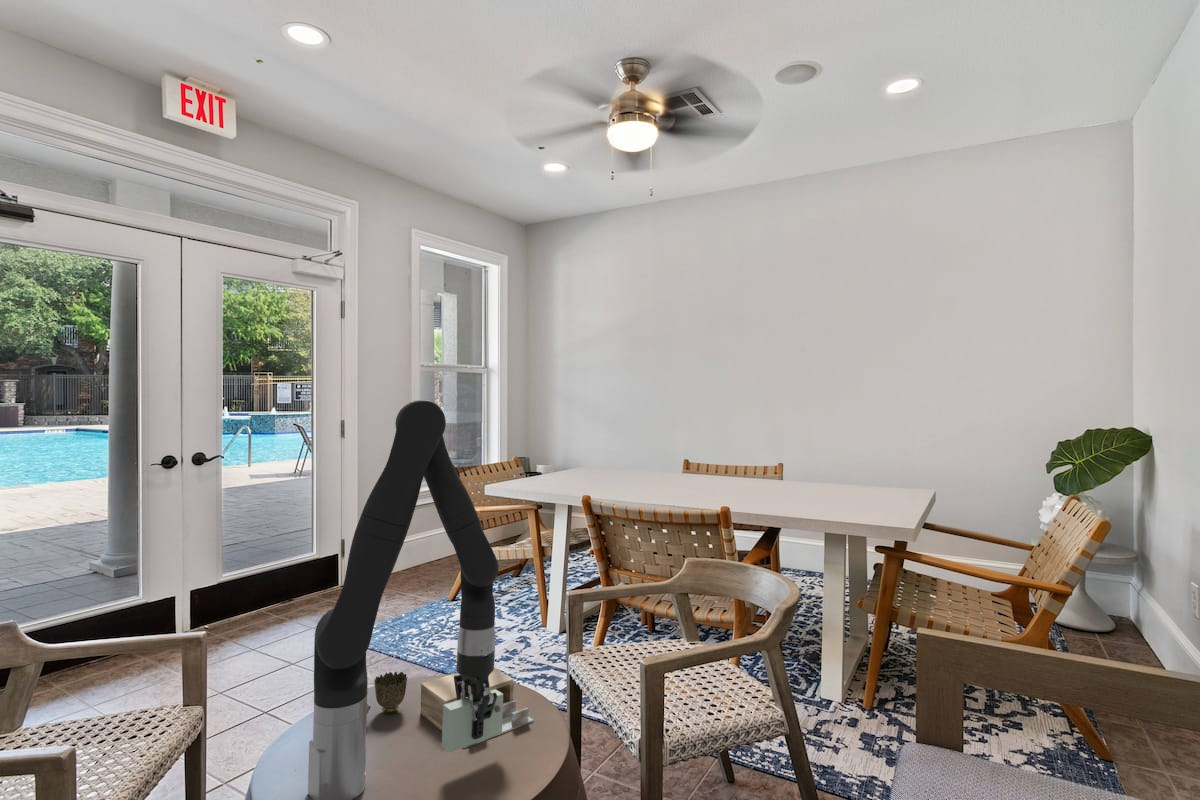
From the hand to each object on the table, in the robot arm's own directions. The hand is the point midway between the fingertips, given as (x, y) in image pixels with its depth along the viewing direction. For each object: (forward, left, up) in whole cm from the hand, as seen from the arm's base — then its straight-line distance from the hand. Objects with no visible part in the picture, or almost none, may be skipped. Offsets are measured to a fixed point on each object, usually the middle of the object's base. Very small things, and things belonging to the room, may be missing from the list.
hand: (472, 733), depth 125 cm
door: (0, 0, -1) cm, 1 cm away
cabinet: (+10, +16, -6) cm, 20 cm away
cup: (-4, +32, -6) cm, 33 cm away
